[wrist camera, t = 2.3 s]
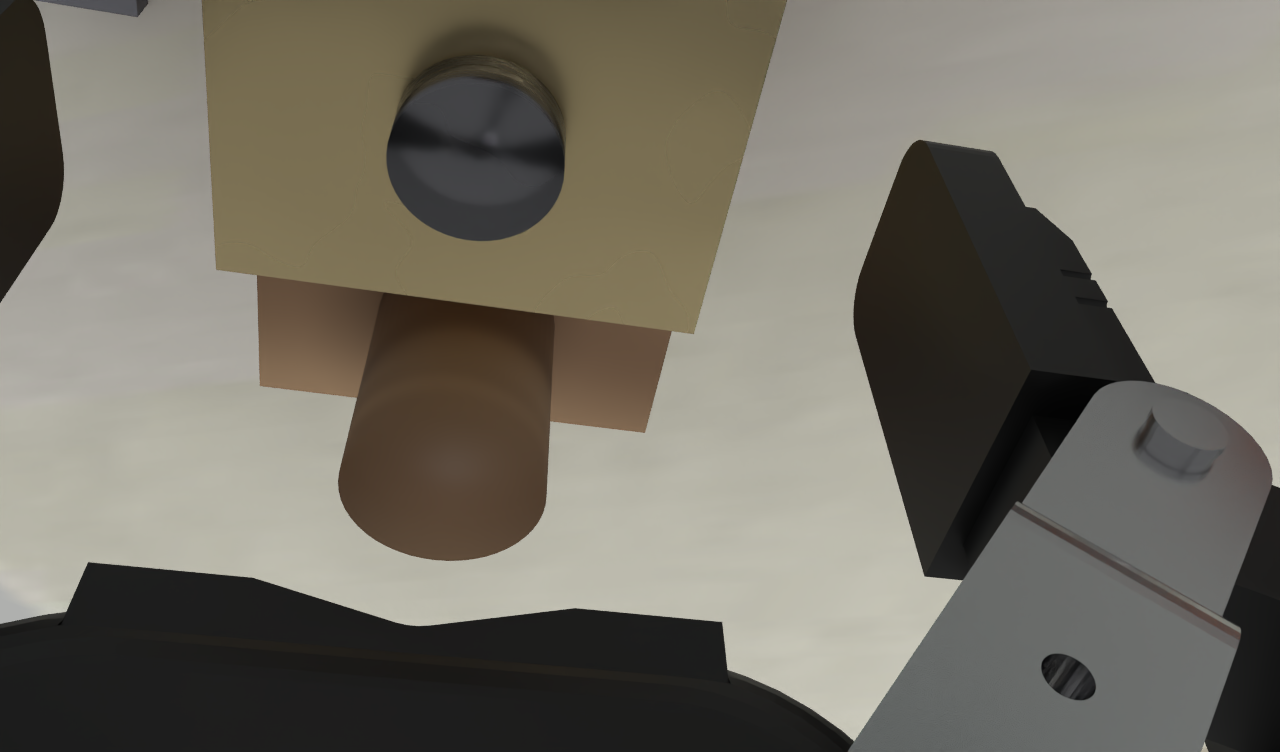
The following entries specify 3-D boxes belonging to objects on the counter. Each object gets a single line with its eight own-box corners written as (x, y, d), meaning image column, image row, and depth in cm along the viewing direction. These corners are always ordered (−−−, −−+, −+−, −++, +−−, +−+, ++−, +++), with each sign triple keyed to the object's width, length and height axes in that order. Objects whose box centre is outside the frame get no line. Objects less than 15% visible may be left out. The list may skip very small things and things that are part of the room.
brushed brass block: (327, -290, 14) (174, -110, 9) (733, -208, 15) (802, 4, 10) (323, 25, 16) (200, 305, 11) (669, 82, 17) (696, 369, 12)
